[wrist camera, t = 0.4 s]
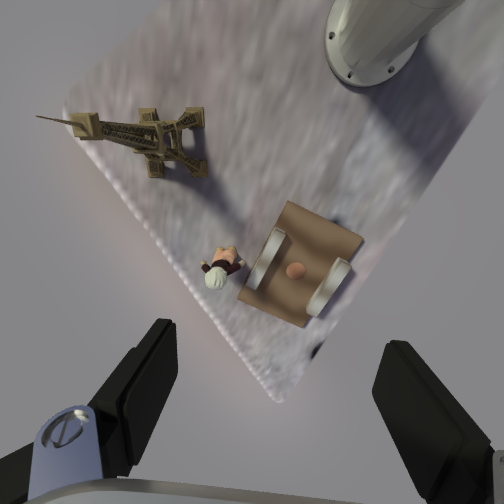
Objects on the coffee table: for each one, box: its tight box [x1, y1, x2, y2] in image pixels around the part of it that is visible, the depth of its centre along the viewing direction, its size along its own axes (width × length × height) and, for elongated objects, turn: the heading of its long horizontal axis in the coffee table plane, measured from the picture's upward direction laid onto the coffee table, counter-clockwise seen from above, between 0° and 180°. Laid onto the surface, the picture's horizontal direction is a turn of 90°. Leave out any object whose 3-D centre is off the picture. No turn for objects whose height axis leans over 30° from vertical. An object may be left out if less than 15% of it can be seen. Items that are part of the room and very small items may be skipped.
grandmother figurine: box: [201, 246, 245, 290], centre depth 40 cm, size 8×4×13 cm, turn 104°
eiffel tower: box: [36, 107, 207, 177], centre depth 28 cm, size 11×11×25 cm
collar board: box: [237, 201, 364, 328], centre depth 44 cm, size 22×15×4 cm
